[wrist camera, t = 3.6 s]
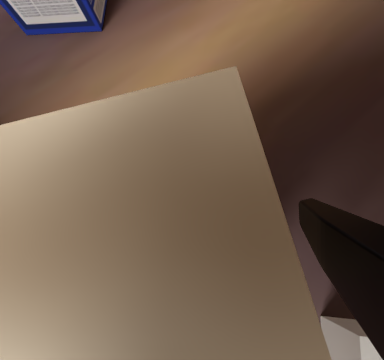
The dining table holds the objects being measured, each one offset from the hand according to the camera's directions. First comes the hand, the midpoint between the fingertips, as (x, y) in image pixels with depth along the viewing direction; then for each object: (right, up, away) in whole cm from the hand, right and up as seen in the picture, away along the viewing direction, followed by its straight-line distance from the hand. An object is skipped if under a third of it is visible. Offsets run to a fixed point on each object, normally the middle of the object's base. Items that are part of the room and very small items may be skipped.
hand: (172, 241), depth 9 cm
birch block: (+1, -3, +7) cm, 8 cm away
